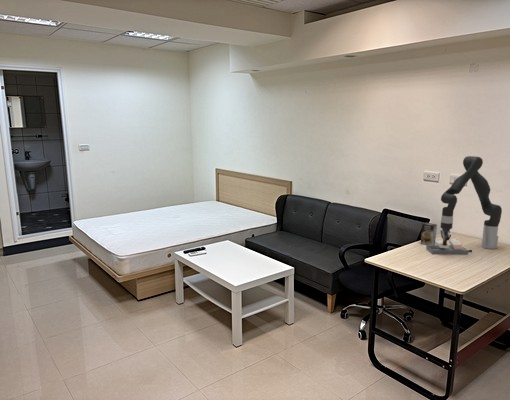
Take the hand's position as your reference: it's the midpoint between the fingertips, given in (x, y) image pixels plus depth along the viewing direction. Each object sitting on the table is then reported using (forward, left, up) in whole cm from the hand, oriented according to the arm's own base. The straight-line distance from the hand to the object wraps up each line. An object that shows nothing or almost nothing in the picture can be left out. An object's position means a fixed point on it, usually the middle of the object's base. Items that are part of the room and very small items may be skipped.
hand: (444, 245), depth 277 cm
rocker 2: (-10, -5, -1) cm, 11 cm away
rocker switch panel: (-7, -5, -7) cm, 11 cm away
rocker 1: (0, -5, -1) cm, 5 cm away
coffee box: (+3, -23, -7) cm, 24 cm away
